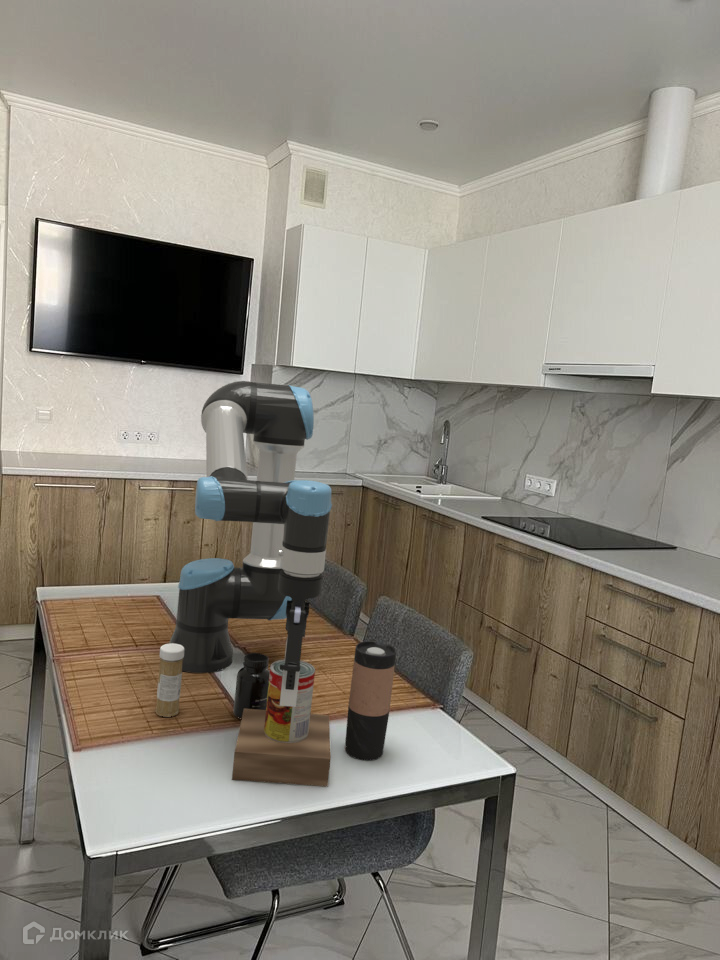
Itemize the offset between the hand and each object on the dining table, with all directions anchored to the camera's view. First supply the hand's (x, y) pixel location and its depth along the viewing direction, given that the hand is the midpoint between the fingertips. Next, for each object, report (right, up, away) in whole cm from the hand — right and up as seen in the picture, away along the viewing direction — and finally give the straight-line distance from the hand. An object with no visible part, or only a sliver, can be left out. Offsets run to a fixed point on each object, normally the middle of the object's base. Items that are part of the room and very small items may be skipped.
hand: (289, 687), depth 131 cm
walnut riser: (-1, -13, +2) cm, 13 cm away
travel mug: (+13, -14, +8) cm, 21 cm away
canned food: (-1, -8, +1) cm, 8 cm away
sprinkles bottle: (-25, -9, +14) cm, 30 cm away
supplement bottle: (-9, -10, +17) cm, 22 cm away
